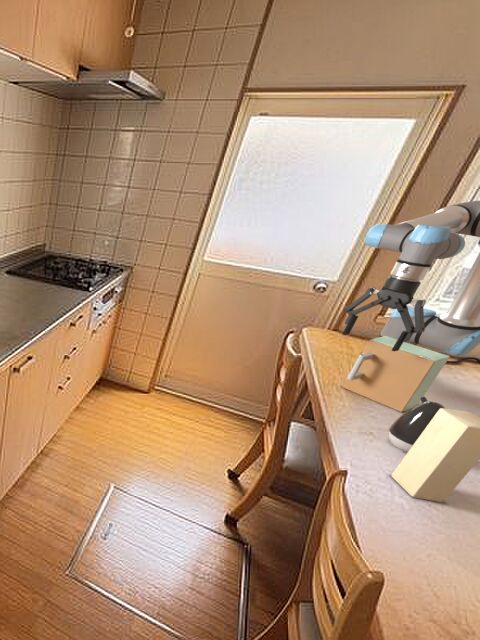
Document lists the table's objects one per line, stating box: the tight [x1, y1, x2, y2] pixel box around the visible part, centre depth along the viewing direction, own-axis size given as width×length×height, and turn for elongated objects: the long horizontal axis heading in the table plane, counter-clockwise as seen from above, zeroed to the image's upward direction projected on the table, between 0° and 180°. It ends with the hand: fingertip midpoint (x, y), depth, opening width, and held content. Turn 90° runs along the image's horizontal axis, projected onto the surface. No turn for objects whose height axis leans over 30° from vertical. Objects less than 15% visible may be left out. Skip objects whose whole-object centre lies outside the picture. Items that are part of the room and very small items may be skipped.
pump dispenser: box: [388, 396, 446, 453], centre depth 116 cm, size 10×10×15 cm
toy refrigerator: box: [390, 408, 480, 503], centre depth 98 cm, size 8×7×21 cm
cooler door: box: [342, 339, 435, 413], centre depth 139 cm, size 8×17×19 cm, turn 25°
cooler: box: [370, 336, 451, 412], centre depth 143 cm, size 10×17×19 cm, turn 25°
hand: (369, 342), depth 137 cm, fingers open, 13 cm apart
